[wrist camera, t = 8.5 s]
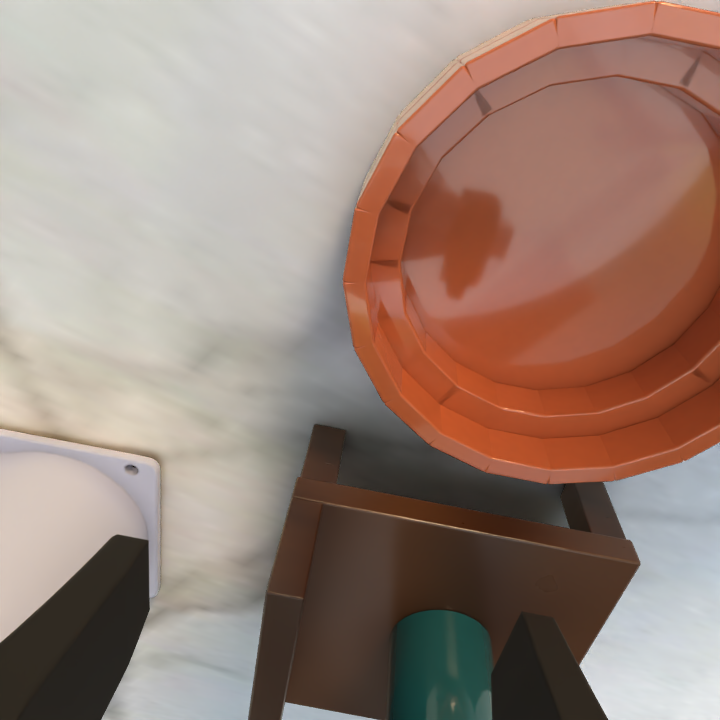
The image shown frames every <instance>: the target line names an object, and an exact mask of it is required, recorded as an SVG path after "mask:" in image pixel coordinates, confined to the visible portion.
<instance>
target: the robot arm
mask: <svg viewBox="0 0 720 720" xmlns="http://www.w3.org/2000/svg"><path fill="white" fill-rule="evenodd" d="M131 465H133V466H135V467H136V468H137V469H136V468H133V467H132V466H131ZM160 553H161V468H160V465H159V464H158V462H157V461H156V460H154V459H153V458H150V457H146V456H141V455H135V454H130V453H125V452H120V451H115V450H109V449H104V448H99V447H94V446H89V445H83V444H78V443H73V442H68V441H63V440H57V439H52V438H47V437H42V436H37V435H31V434H26V433H21V432H16V431H10V430H5V429H0V720H101V719H102V717H103V715H104V713H105V711H106V709H107V707H108V705H109V703H110V701H111V699H112V697H113V695H114V693H115V691H116V689H117V687H118V685H119V683H120V681H121V679H122V677H123V675H124V673H125V671H126V669H127V667H128V665H129V662H130V660H131V657H132V654H133V652H134V649H135V647H136V644H137V642H138V639H139V636H140V634H141V631H142V628H143V626H144V623H145V620H146V618H147V615H148V612H149V610H150V606H149V598H153V597H155V596H157V594H158V592H159V590H160ZM491 698H492V720H608V718H607V717H606V715H605V713H604V711H603V709H602V708H601V706H600V704H599V702H598V700H597V699H596V697H595V695H594V693H593V691H592V689H591V687H590V686H589V684H588V682H587V680H586V678H585V676H584V674H583V672H582V671H581V669H580V667H579V665H578V663H577V661H576V659H575V657H574V655H573V653H572V651H571V649H570V648H569V646H568V644H567V642H566V640H565V638H564V636H563V634H562V632H561V630H560V628H559V626H558V624H557V622H556V621H555V619H554V618H553V617H549V616H544V615H539V614H534V613H528V612H523V611H522V612H521V614H520V616H519V618H518V620H517V622H516V624H515V626H514V628H513V630H512V632H511V634H510V636H509V638H508V640H507V642H506V644H505V646H504V649H503V651H502V653H501V655H500V657H499V659H498V661H497V663H496V665H495V667H494V669H493V671H492V673H491Z"/></svg>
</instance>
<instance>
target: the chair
mask: <svg viewBox="0 0 720 720" xmlns="http://www.w3.org/2000/svg"><path fill="white" fill-rule="evenodd" d="M345 434H346V431H345V430H342V429H337V428H332V427H326V426H321V425H314V427H313V430H312V434H311V438H310V442H309V446H308V450H307V453H306V457H305V461H304V465H303V469H302V472H301V476H300V477H297V479H296V482H295V486H294V490H293V493H292V497H291V501H290V504H289V508H288V512H287V515H286V519H285V523H284V527H283V530H282V534H281V538H280V541H279V545H278V549H277V553H276V556H275V560H274V564H273V567H272V571H271V575H270V579H269V582H268V586H267V590H266V595H265V602H264V609H263V616H262V624H261V631H260V638H259V645H258V652H257V659H256V666H255V674H254V681H253V688H252V695H251V702H250V709H249V716H248V720H282V715H283V710H284V705H285V702H287V703H293V704H298V705H303V706H309V707H314V708H319V709H324V710H330V711H335V712H340V713H346V714H351V715H356V716H362V717H367V718H372V719H378V720H385V712H386V690H387V669H388V648H389V636H390V633H391V631H392V629H393V628H394V626H395V625H396V624H397V623H398V622H399V621H400V620H402V619H403V618H405V617H407V616H409V615H411V614H413V613H417V612H420V611H425V610H449V611H455V612H459V613H462V614H465V615H467V616H469V617H471V618H473V619H475V620H477V621H478V622H479V623H480V624H482V625H483V626H484V627H485V629H486V630H487V631H488V633H489V635H490V638H491V641H492V650H493V658H494V666H495V665H496V663H497V661H498V659H499V657H500V655H501V653H502V651H503V649H504V646H505V644H506V642H507V640H508V638H509V636H510V634H511V632H512V630H513V628H514V626H515V624H516V622H517V620H518V618H519V616H520V614H521V612H522V611H523V612H528V613H534V614H539V615H544V616H549V617H553V618H554V619H555V621H556V622H557V624H558V626H559V628H560V630H561V632H562V634H563V636H564V638H565V640H566V642H567V644H568V646H569V648H570V649H571V651H572V653H573V655H574V657H575V659H576V661H577V663H578V665H580V663H581V661H582V660H583V658H584V657H585V655H586V653H587V652H588V650H589V648H590V647H591V645H592V643H593V642H594V640H595V638H596V637H597V635H598V634H599V632H600V630H601V629H602V627H603V625H604V624H605V622H606V620H607V619H608V617H609V615H610V614H611V612H612V611H613V609H614V607H615V606H616V604H617V602H618V601H619V599H620V597H621V596H622V594H623V592H624V591H625V589H626V587H627V586H628V584H629V583H630V581H631V579H632V578H633V576H634V574H635V573H636V571H637V569H638V568H639V566H640V560H639V558H638V555H637V553H636V551H635V548H634V546H633V543H632V542H631V541H630V540H627V539H626V538H625V535H624V533H623V530H622V528H621V525H620V523H619V520H618V518H617V515H616V513H615V511H614V508H613V506H612V503H611V501H610V498H609V496H608V493H607V491H606V489H605V486H604V484H603V482H587V483H567V484H566V485H565V488H564V490H563V492H562V494H561V496H560V498H561V501H562V505H563V508H564V511H565V514H566V518H567V521H568V524H569V528H570V529H569V528H564V527H559V526H554V525H548V524H543V523H538V522H533V521H528V520H522V519H517V518H512V517H507V516H502V515H496V514H491V513H486V512H481V511H476V510H470V509H465V508H460V507H455V506H450V505H444V504H439V503H434V502H429V501H424V500H418V499H413V498H408V497H403V496H398V495H392V494H387V493H382V492H377V491H372V490H366V489H361V488H356V487H351V486H346V485H340V484H337V479H338V474H339V468H340V463H341V457H342V451H343V446H344V440H345Z"/></svg>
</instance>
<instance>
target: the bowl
mask: <svg viewBox="0 0 720 720" xmlns="http://www.w3.org/2000/svg"><path fill="white" fill-rule="evenodd" d="M343 288H344V294H345V300H346V307H347V313H348V319H349V325H350V331H351V337H352V343H353V346H354V350H355V352H356V354H357V356H358V357H359V359H360V361H361V363H362V365H363V367H364V368H365V370H366V372H367V374H368V376H369V377H370V379H371V381H372V383H373V385H374V387H375V388H376V390H377V392H378V394H379V396H380V398H381V399H382V401H383V402H384V403H385V405H386V406H387V407H388V408H389V409H390V410H392V411H393V412H394V413H395V414H396V415H397V416H398V417H399V418H400V419H401V420H402V421H403V422H404V423H406V424H407V425H408V426H409V427H410V428H411V429H412V430H413V431H414V432H415V433H416V434H417V435H418V436H420V437H421V438H422V439H423V440H424V441H425V442H426V443H427V444H429V445H430V446H431V447H433V448H436V449H438V450H440V451H442V452H444V453H446V454H448V455H450V456H452V457H454V458H456V459H458V460H460V461H462V462H464V463H466V464H468V465H470V466H472V467H474V468H476V469H479V470H481V471H483V472H484V471H485V472H486V473H490V474H496V475H501V476H506V477H511V478H516V479H521V480H527V481H532V482H537V483H542V484H547V483H548V484H567V483H587V482H608V481H614V480H621V479H625V478H628V477H632V476H635V475H639V474H642V473H646V472H649V471H653V470H657V469H660V468H664V467H667V466H671V465H674V464H678V463H681V462H683V460H684V461H686V460H688V459H690V458H692V457H694V456H696V455H697V454H699V453H701V452H703V451H705V450H707V449H709V448H710V447H712V446H714V445H716V444H718V443H720V13H718V12H713V11H708V10H703V9H698V8H693V7H688V6H684V5H679V4H674V3H669V2H664V1H647V2H638V3H630V4H621V5H612V6H606V7H599V8H593V9H587V10H581V11H574V12H568V13H562V14H555V15H549V16H543V17H537V18H532V19H531V20H526V21H524V22H522V23H521V24H519V25H517V26H515V27H513V28H511V29H509V30H507V31H505V32H503V33H501V34H499V35H498V36H496V37H494V38H492V39H490V40H488V41H486V42H484V43H482V44H480V45H478V46H477V47H475V48H473V49H471V50H469V51H467V52H465V53H463V54H461V55H459V56H458V57H457V58H456V59H454V60H453V61H452V62H451V63H450V64H449V65H448V66H447V67H446V68H445V69H444V70H443V71H442V72H441V73H440V74H439V75H438V76H437V77H436V78H435V79H434V80H433V81H432V82H431V83H430V84H429V85H428V86H427V87H426V88H425V89H424V90H423V91H422V92H421V93H420V94H419V95H418V96H417V97H416V98H415V99H414V100H413V101H412V102H411V103H410V104H409V105H408V106H407V107H406V108H405V109H404V110H403V111H402V112H401V113H400V115H399V116H398V117H397V119H396V120H395V122H394V124H393V126H392V128H391V130H390V132H389V134H388V136H387V138H386V140H385V141H384V143H383V145H382V147H381V149H380V151H379V153H378V155H377V157H376V159H375V160H374V162H373V164H372V166H371V168H370V170H369V172H368V174H367V176H366V178H365V181H364V184H363V187H362V189H361V192H360V195H359V198H358V201H357V204H356V207H355V210H354V215H353V221H352V227H351V233H350V239H349V245H348V251H347V256H346V262H345V268H344V274H343Z"/></svg>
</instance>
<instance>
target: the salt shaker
mask: <svg viewBox="0 0 720 720" xmlns="http://www.w3.org/2000/svg"><path fill="white" fill-rule="evenodd" d="M494 667H495V666H494V658H493V650H492V641H491V638H490V635H489V633H488V631H487V630H486V629H485V627H484V626H483V625H482V624H480V623H479V622H478V621H477V620H475V619H473V618H471V617H469V616H467V615H465V614H462V613H459V612H455V611H449V610H425V611H420V612H417V613H413V614H411V615H409V616H407V617H405V618H403V619H402V620H400V621H399V622H398V623H397V624H396V625H395V626H394V628H393V629H392V631H391V633H390V636H389V648H388V669H387V690H386V712H385V720H492V698H491V673H492V671H493V669H494Z"/></svg>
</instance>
